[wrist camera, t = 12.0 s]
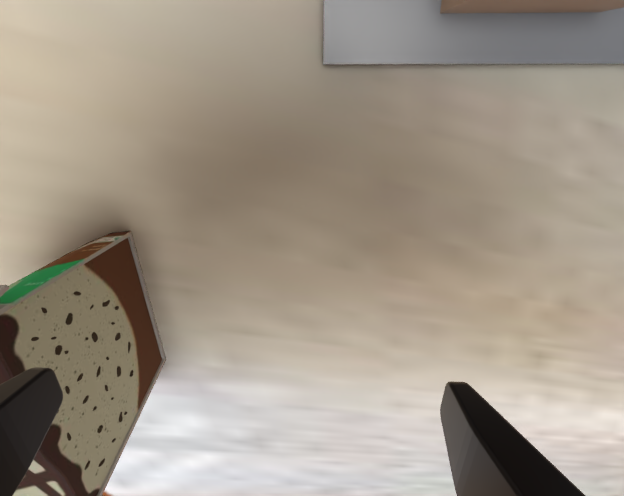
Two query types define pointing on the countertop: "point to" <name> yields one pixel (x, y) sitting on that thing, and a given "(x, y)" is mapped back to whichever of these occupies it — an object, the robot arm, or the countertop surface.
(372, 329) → the countertop surface
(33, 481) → the food container
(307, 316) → the countertop surface
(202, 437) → the countertop surface
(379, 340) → the countertop surface
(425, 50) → the board
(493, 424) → the robot arm
